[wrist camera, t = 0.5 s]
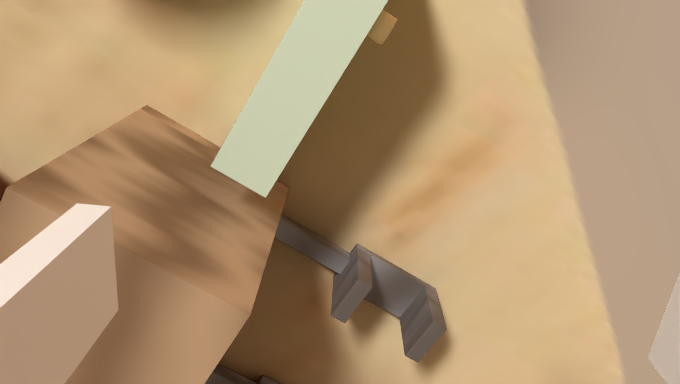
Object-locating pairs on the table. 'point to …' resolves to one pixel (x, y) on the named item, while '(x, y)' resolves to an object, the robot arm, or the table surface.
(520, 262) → the table surface
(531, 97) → the table surface
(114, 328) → the wooden shelf unit
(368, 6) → the door
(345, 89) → the table surface
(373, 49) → the table surface
